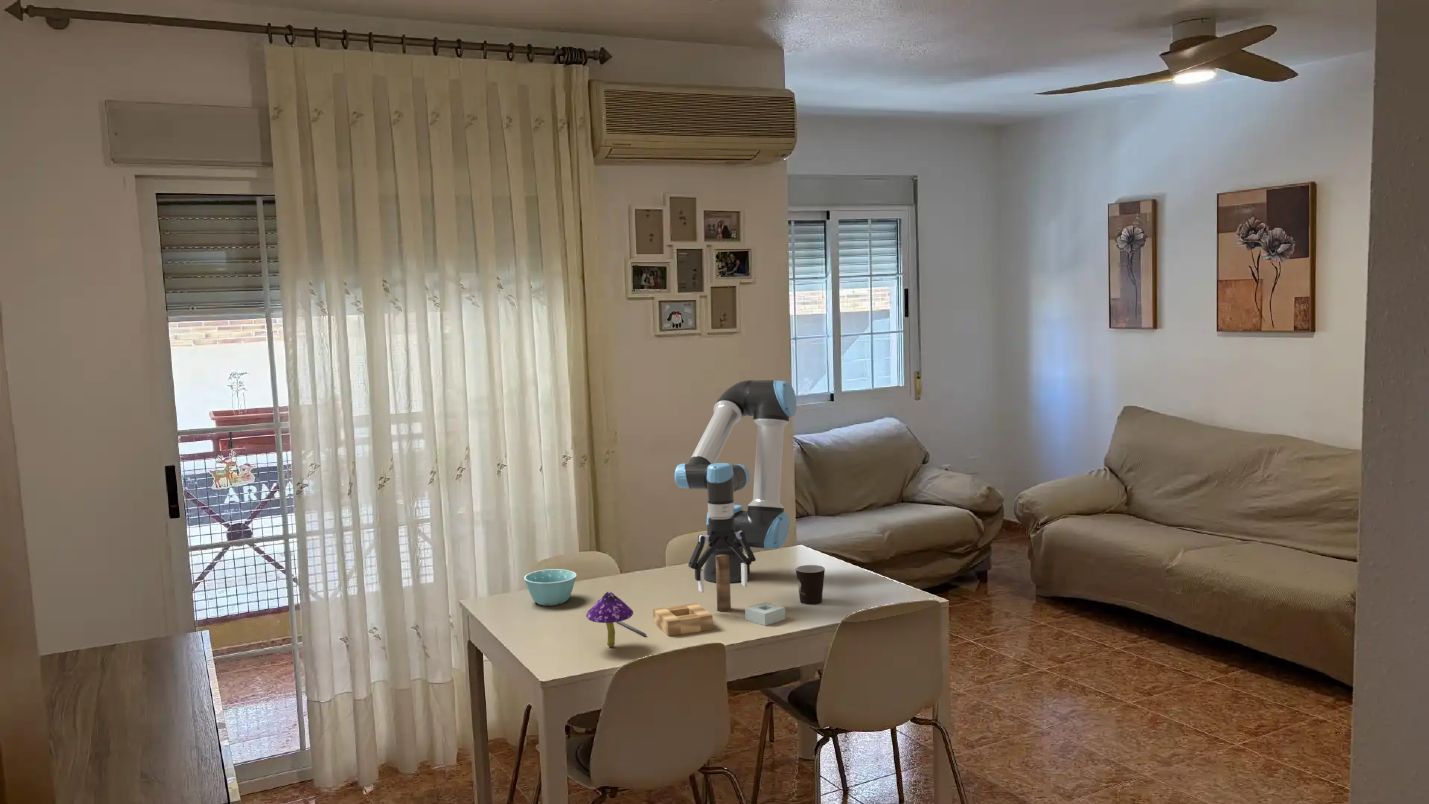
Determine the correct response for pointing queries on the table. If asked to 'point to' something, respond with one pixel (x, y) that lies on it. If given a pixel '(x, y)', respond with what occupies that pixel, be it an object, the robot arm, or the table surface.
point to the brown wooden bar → (723, 583)
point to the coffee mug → (810, 583)
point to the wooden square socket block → (682, 619)
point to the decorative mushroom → (609, 613)
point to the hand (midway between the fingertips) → (722, 588)
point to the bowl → (550, 586)
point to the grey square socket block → (765, 613)
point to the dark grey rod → (631, 628)
